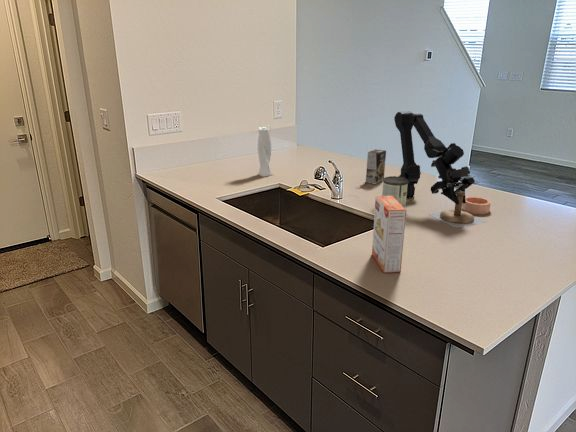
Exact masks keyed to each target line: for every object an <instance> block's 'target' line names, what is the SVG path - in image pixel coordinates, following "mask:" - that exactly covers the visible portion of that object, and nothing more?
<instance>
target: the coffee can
mask: <svg viewBox="0 0 576 432" xmlns="http://www.w3.org/2000/svg"><path fill="white" fill-rule="evenodd" d="M407 186H408V179H406V178H403V177H399V176H395V175H393V176H384V178H383V181H382V194H381V196H393V197H394V198H395V199H396V200H397V201H398V202H399V203H400V204H401V205H402V206H403V207H404V208H405V209H406V206H407V198H406V197H407Z"/></svg>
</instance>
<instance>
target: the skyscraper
mask: <svg viewBox="0 0 576 432" xmlns="http://www.w3.org/2000/svg"><path fill="white" fill-rule="evenodd" d="M270 131H271V126H270V124H267V126H262V127H261V126H259V127H258V129H257V132H258V138H257V155H258V162H259V171H258V173H257V174H256V175H258V176H260V177H262V178H267V177H272V176H274V174H273V173H272V172H271V169H270V162H271V157H272V156H271V155H272V141H271V136H270Z"/></svg>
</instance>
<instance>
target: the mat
mask: <svg viewBox="0 0 576 432" xmlns="http://www.w3.org/2000/svg"><path fill="white" fill-rule="evenodd" d="M441 212H442V211H441ZM441 212H435V213H430V214H428V216H429V217H432V218H433V219H436V220H438V221H440V222H442V223H445V224H447V225H449V226H451V227H453V228H455V229H456V228H457V229H458V228H463V227H468V226H473V225H477V224H482V223H487V221H486V220H484V219H481V218H478V217H477V216H474V221H473V222H472V223H468V224H457V223H451V222H447V221H445V220H443V219H441V218H440V213H441Z"/></svg>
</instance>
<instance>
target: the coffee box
mask: <svg viewBox="0 0 576 432" xmlns="http://www.w3.org/2000/svg"><path fill="white" fill-rule="evenodd" d="M386 155H387V150H385V149H384V150H383V149H373V150H370V151H367V161H366V174H365V183H369V184H374V185H377V184H379V183H383V178H385V169H386V158H387V157H386Z"/></svg>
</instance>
